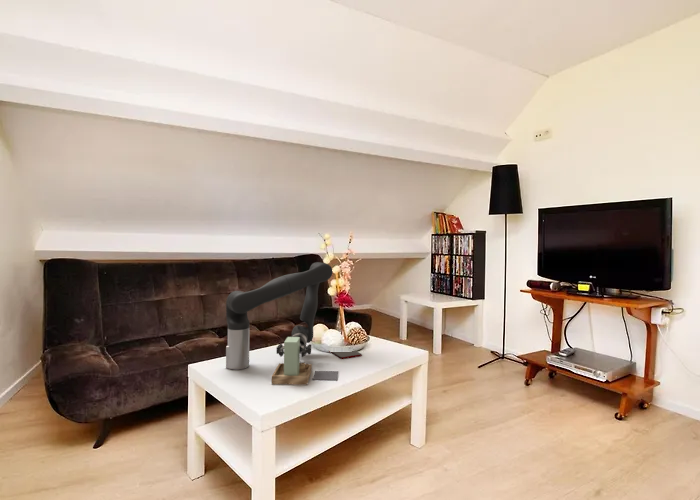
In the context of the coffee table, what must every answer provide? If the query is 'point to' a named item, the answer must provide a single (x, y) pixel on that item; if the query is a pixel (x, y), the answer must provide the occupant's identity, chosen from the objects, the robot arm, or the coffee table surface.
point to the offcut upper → (301, 365)
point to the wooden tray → (301, 379)
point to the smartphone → (347, 354)
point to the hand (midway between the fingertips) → (291, 354)
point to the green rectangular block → (291, 356)
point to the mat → (325, 375)
